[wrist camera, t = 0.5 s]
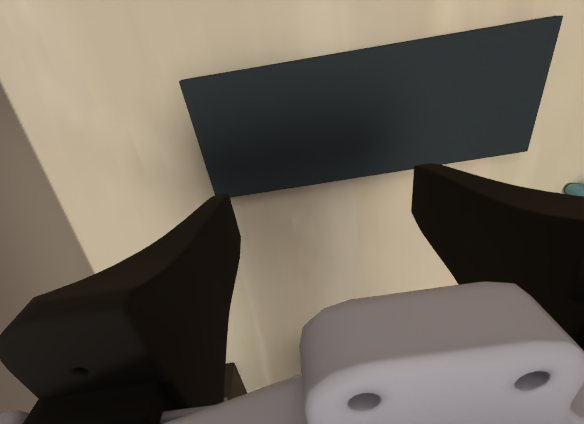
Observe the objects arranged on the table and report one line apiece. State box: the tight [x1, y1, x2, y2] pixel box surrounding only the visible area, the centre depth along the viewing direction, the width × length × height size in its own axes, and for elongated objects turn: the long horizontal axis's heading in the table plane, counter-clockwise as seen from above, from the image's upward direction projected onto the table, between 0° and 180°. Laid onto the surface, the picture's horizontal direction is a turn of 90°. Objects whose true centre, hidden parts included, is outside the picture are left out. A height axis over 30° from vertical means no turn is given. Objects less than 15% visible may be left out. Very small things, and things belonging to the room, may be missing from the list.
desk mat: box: [179, 16, 563, 197], centre depth 20 cm, size 8×22×1 cm, turn 99°
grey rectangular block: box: [224, 363, 247, 402], centre depth 34 cm, size 12×4×6 cm, turn 9°
